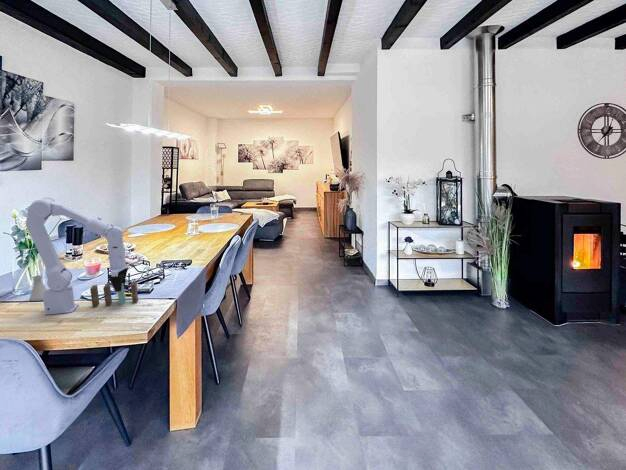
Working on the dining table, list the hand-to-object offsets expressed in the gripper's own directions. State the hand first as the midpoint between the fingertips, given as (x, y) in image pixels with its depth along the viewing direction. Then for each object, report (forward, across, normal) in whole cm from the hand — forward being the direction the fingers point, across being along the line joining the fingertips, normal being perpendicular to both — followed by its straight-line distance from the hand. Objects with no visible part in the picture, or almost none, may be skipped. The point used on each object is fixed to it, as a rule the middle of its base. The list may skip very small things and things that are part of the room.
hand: (120, 288), depth 152 cm
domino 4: (+6, 0, -5) cm, 8 cm away
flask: (+7, +16, +34) cm, 38 cm away
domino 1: (+6, 0, +9) cm, 11 cm away
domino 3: (+6, 0, 0) cm, 6 cm away
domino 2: (+6, 0, +5) cm, 8 cm away
